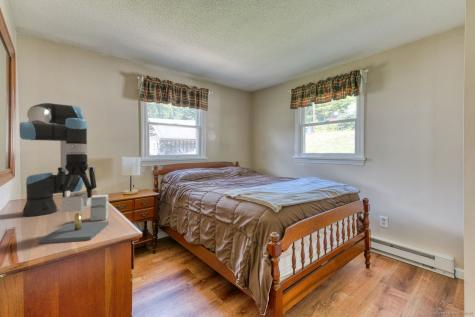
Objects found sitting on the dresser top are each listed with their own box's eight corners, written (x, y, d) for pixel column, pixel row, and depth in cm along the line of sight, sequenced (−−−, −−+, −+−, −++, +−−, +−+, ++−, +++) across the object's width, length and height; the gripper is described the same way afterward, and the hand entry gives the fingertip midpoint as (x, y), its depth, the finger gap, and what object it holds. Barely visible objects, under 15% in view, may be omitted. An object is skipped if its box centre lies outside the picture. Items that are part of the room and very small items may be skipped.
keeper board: (67, 226, 104) (67, 223, 104) (108, 224, 108) (108, 221, 108) (38, 243, 85) (38, 239, 85) (90, 239, 89) (90, 236, 89)
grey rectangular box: (74, 206, 100) (74, 193, 100) (91, 205, 102) (91, 192, 102) (62, 211, 91) (62, 197, 91) (81, 211, 92) (80, 196, 92)
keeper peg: (76, 228, 97) (76, 212, 97) (82, 228, 98) (82, 212, 98) (73, 230, 95) (73, 214, 95) (79, 230, 96) (79, 213, 95)
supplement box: (89, 221, 113) (89, 197, 112) (93, 217, 119) (93, 194, 119) (106, 220, 115) (106, 196, 115) (108, 216, 122) (108, 193, 122)
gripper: (44, 153, 90) (45, 208, 90) (98, 153, 94) (99, 206, 95) (55, 153, 97) (56, 204, 98) (105, 153, 102) (105, 202, 102)
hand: (77, 205), depth 96 cm, fingers closed on grey rectangular box, 7 cm apart
